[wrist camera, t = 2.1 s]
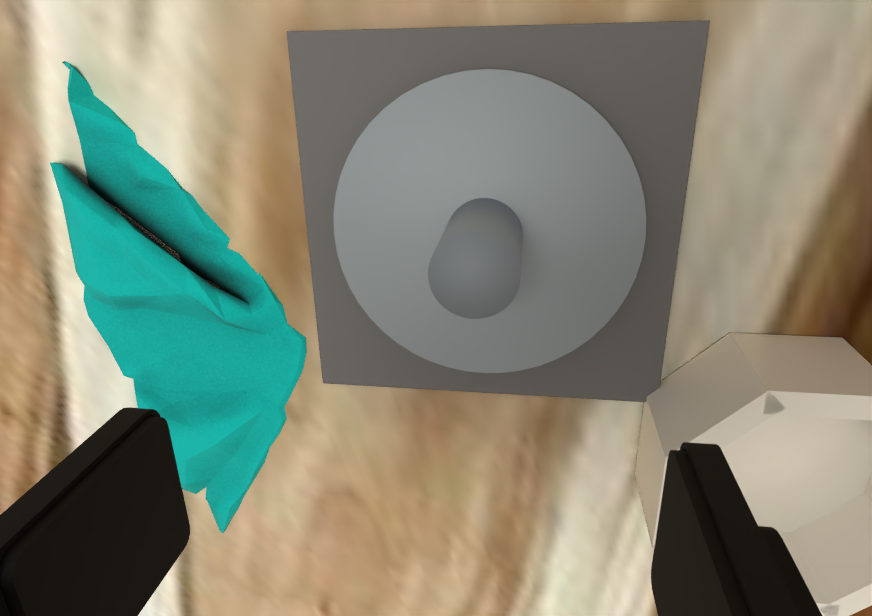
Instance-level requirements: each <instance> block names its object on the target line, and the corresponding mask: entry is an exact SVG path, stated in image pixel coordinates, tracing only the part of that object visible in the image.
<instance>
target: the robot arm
mask: <svg viewBox="0 0 872 616" xmlns="http://www.w3.org/2000/svg"><path fill="white" fill-rule="evenodd" d="M189 535H190V525H189V520H188V515H187V511H186V506H185V501H184V497H183V492H182V487H181V483H180V478H179V473H178V469H177V464H176V459H175V454H174V450H173V445H172V440H171V436H170V431H169V426H168V423H167V421H166V419H165V418H163V417H161V416H160V414H159V413H158V411H156V410H154V409H143V408H123V409H122V410H120V411H119V412H118V413H116V414H115V415H114V416H113V417H112V418H111V419H110V420H108V421H107V422H106V423H105V424H104V425H103V426H102V427H100V428H99V429H98V430H97V431H96V432H95V433H94V434H92V435H91V436H90V437H89V438H88V439H87V440H86V441H84V442H83V443H82V444H81V445H80V446H79V447H78V448H76V449H75V450H74V451H73V452H72V453H71V454H70V455H68V456H67V457H66V458H65V459H64V460H63V461H62V462H60V463H59V464H58V465H57V466H56V467H55V468H54V469H52V470H51V471H50V472H49V473H48V474H47V475H46V476H44V477H43V478H42V479H41V480H40V481H39V482H38V483H36V484H35V485H34V486H33V487H32V488H31V489H30V490H28V491H27V492H26V493H25V494H24V495H23V496H22V497H20V498H19V499H18V500H17V501H16V502H15V503H14V504H12V505H11V506H10V507H9V508H8V509H7V510H6V511H4V512H3V513H2V514H1V515H0V616H138V614H139V613H140V611H141V610H142V609H143V607H144V606H145V604H146V603H147V601H148V600H149V599H150V597H151V596H152V594H153V593H154V591H155V590H156V588H157V587H158V586H159V584H160V583H161V581H162V580H163V578H164V577H165V576H166V574H167V573H168V571H169V570H170V568H171V567H172V565H173V564H174V563H175V561H176V560H177V558H178V557H179V555H180V554H181V552H182V551H183V550H184V548H185V546H186V545H187V542H188V540H189ZM651 582H652V590H653V595H654V599H655V604H656V608H657V612H658V616H822V614H821V612H820V610H819V608H818V606H817V604H816V602H815V600H814V599H813V597H812V595H811V593H810V591H809V589H808V587H807V585H806V583H805V581H804V579H803V577H802V575H801V573H800V572H799V570H798V568H797V566H796V564H795V562H794V560H793V558H792V556H791V554H790V552H789V550H788V548H787V546H786V545H785V543H784V541H783V539H782V537H781V536H780V534H779V533H778V531H777V530H776V529H774V528H773V527H764V526H758V525H757V523H756V521H755V519H754V516H753V514H752V512H751V510H750V508H749V506H748V504H747V502H746V500H745V498H744V496H743V494H742V491H741V489H740V487H739V485H738V483H737V481H736V479H735V477H734V475H733V473H732V471H731V469H730V466H729V464H728V462H727V460H726V458H725V456H724V454H723V452H722V450H721V448H720V447H719V445H717V444H705V443H689V442H683V443H682V444H681V447H680V450H670V452H669V455H668V460H667V467H666V474H665V481H664V487H663V494H662V501H661V507H660V514H659V521H658V528H657V534H656V541H655V548H654V555H653V561H652V569H651Z"/></svg>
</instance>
